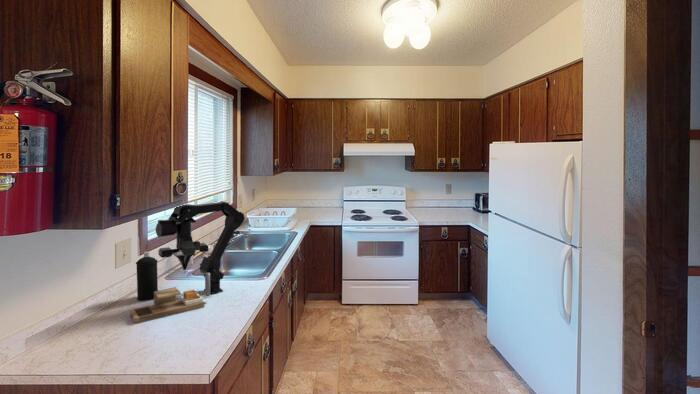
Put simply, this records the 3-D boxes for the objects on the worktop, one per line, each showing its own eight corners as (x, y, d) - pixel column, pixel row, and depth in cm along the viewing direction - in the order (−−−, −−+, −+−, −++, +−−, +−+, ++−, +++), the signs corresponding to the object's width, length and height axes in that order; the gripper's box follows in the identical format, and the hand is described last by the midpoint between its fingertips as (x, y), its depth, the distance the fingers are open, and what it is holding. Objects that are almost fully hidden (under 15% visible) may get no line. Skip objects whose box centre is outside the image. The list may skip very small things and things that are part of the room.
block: (183, 300, 149) (183, 291, 148) (193, 298, 152) (193, 289, 151) (186, 304, 146) (186, 294, 146) (196, 301, 149) (196, 292, 148)
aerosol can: (157, 299, 154) (156, 254, 152) (135, 302, 151) (133, 255, 149) (159, 293, 162) (158, 249, 160) (138, 295, 159) (137, 250, 157)
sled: (180, 300, 149) (180, 275, 148) (207, 294, 157) (207, 270, 155) (186, 305, 145) (185, 280, 143) (213, 299, 152) (212, 274, 150)
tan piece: (129, 314, 139) (128, 295, 138) (196, 299, 155) (196, 282, 155) (134, 323, 132) (133, 303, 131) (204, 307, 148) (204, 289, 147)
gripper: (165, 240, 141) (165, 278, 143) (213, 234, 153) (213, 270, 155) (157, 235, 149) (158, 271, 151) (203, 230, 162) (204, 264, 163)
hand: (184, 269), depth 155 cm, fingers closed
